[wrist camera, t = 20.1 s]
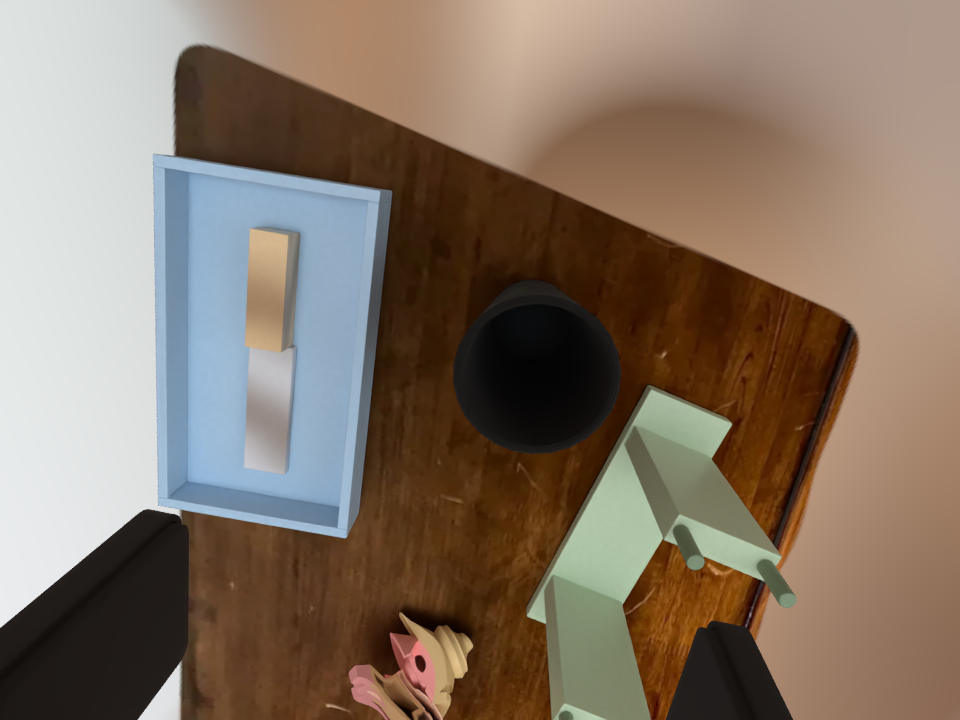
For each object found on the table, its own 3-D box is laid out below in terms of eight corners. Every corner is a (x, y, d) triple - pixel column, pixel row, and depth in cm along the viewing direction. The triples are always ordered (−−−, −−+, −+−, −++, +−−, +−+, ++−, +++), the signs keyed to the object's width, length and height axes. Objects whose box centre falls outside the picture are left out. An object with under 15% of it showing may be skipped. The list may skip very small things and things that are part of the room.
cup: (549, 396, 39) (562, 482, 27) (452, 341, 38) (424, 405, 27) (612, 300, 37) (655, 349, 25) (510, 240, 36) (506, 262, 24)
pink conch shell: (444, 574, 44) (511, 694, 38) (441, 622, 51) (497, 729, 45) (330, 635, 40) (386, 777, 35) (344, 678, 47) (392, 802, 42)
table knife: (259, 225, 36) (244, 227, 34) (305, 233, 36) (293, 235, 34) (247, 463, 41) (234, 476, 39) (288, 470, 41) (277, 484, 39)
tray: (185, 157, 36) (152, 153, 33) (392, 190, 36) (380, 190, 32) (184, 482, 43) (157, 505, 39) (359, 512, 42) (346, 538, 39)
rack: (647, 384, 38) (722, 493, 24) (727, 418, 38) (846, 545, 24) (525, 607, 44) (529, 800, 30) (596, 635, 44) (632, 839, 30)
